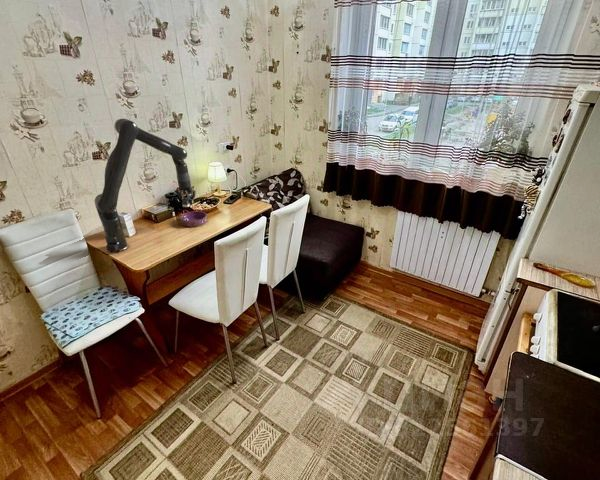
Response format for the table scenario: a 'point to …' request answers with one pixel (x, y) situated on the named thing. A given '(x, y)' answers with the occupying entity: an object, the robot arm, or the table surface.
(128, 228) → the syrup box
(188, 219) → the bowl
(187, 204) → the eraser
